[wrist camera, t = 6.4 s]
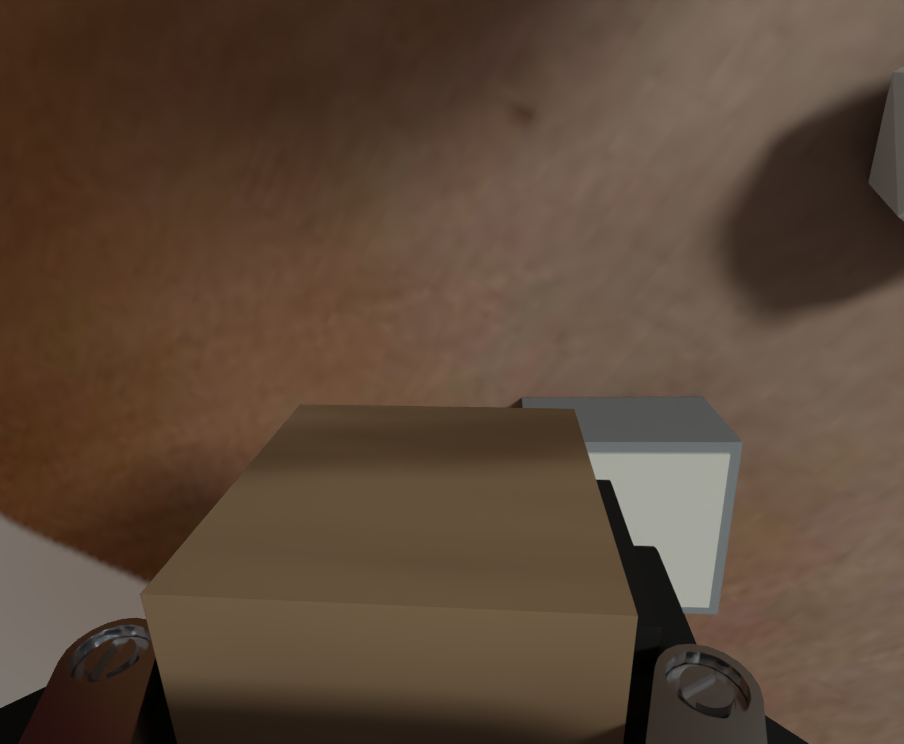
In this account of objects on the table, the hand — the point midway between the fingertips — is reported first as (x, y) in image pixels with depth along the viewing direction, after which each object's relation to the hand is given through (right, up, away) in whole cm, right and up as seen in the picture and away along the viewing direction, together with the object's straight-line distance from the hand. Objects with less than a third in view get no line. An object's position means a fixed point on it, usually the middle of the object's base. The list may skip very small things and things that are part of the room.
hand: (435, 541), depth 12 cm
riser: (+9, -2, +19) cm, 21 cm away
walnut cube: (0, 0, +1) cm, 1 cm away
